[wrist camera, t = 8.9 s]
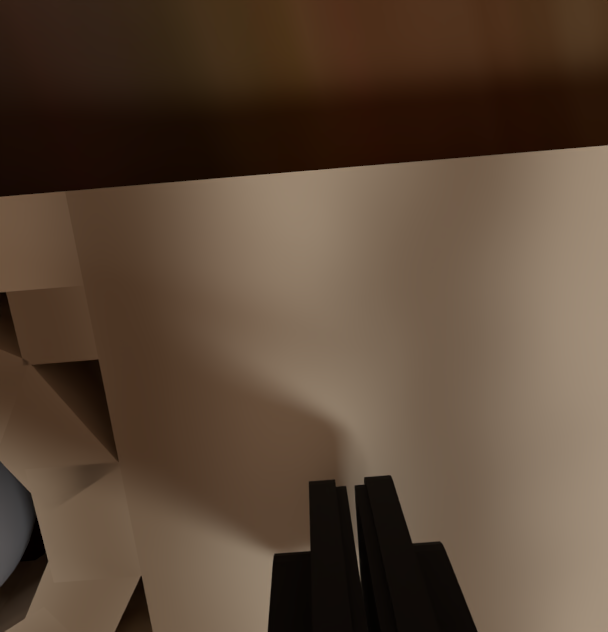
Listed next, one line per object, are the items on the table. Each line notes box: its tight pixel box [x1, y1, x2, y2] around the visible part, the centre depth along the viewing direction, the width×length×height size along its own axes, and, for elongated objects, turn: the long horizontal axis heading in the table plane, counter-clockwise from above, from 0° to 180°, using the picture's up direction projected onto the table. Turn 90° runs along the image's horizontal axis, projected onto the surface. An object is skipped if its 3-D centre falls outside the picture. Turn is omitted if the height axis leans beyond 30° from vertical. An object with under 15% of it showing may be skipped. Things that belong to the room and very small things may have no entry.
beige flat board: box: [0, 145, 608, 632], centre depth 12 cm, size 28×14×3 cm, turn 95°
